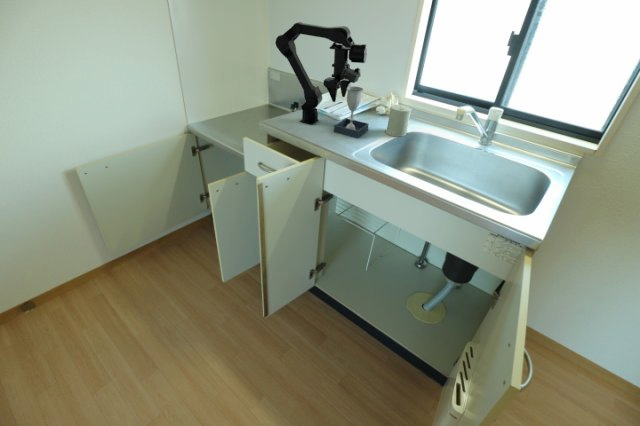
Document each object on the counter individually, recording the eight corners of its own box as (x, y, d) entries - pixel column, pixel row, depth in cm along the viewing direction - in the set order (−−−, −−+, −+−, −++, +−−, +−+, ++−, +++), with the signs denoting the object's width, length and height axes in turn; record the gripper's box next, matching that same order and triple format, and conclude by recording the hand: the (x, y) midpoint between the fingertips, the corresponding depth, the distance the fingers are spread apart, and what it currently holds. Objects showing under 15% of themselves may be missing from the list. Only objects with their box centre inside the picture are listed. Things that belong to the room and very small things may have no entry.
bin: (333, 131, 146) (334, 125, 144) (345, 124, 154) (345, 118, 153) (357, 138, 142) (358, 131, 140) (367, 129, 150) (368, 123, 148)
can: (387, 136, 145) (392, 109, 138) (384, 128, 153) (388, 102, 146) (408, 137, 145) (414, 110, 138) (403, 129, 153) (409, 103, 146)
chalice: (352, 134, 144) (357, 92, 133) (339, 130, 147) (343, 88, 136) (360, 129, 149) (366, 88, 138) (348, 125, 152) (352, 85, 141)
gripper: (348, 67, 126) (345, 108, 135) (367, 60, 140) (363, 97, 149) (323, 64, 131) (322, 103, 140) (344, 57, 144) (342, 93, 153)
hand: (338, 99), depth 145 cm, fingers open, 9 cm apart
